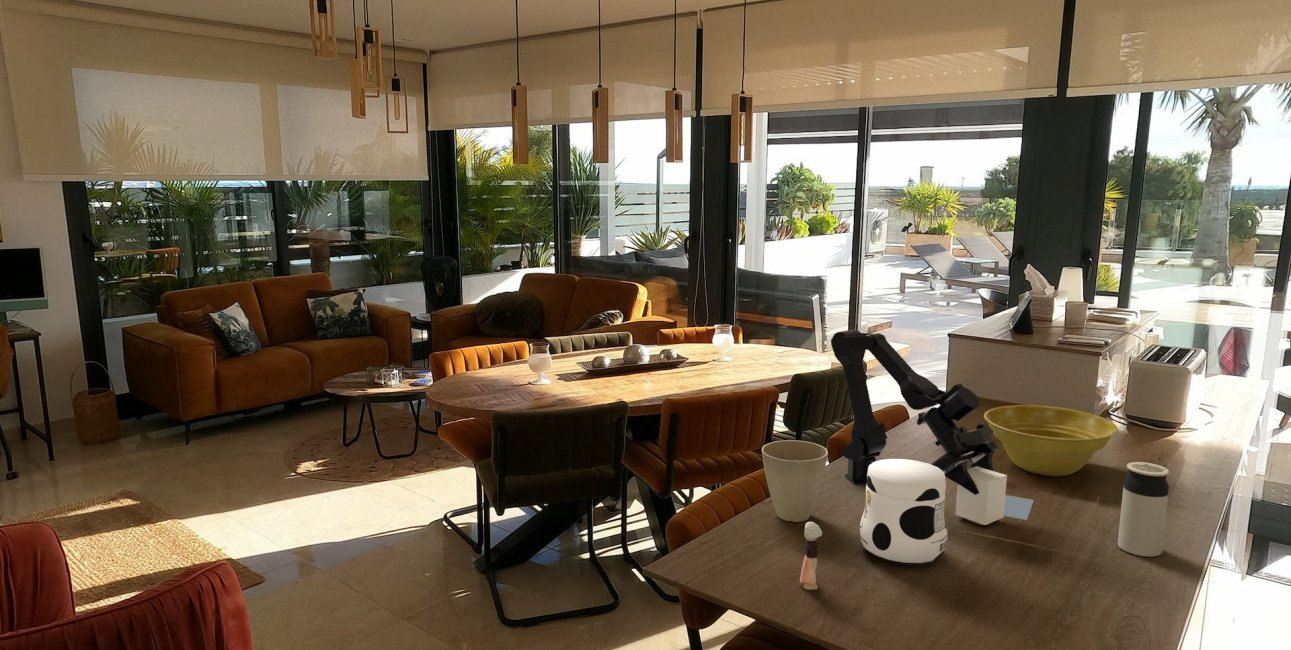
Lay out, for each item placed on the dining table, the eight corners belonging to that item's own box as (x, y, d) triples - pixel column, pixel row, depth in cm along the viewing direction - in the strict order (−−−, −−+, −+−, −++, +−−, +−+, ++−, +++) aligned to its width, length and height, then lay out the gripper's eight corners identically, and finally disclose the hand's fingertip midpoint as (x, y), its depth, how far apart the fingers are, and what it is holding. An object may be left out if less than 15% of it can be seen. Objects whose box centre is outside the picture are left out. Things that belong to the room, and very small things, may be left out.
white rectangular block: (955, 514, 187) (958, 472, 185) (973, 506, 191) (976, 466, 189) (985, 525, 181) (988, 482, 179) (1003, 517, 185) (1006, 475, 183)
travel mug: (1161, 561, 166) (1171, 477, 163) (1116, 552, 170) (1125, 469, 167) (1161, 546, 173) (1170, 465, 170) (1118, 538, 177) (1126, 459, 174)
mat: (962, 509, 193) (962, 507, 193) (972, 490, 205) (972, 489, 205) (1026, 521, 186) (1026, 520, 186) (1033, 501, 198) (1034, 500, 198)
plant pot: (785, 498, 200) (787, 436, 197) (838, 515, 189) (840, 449, 187) (747, 515, 189) (748, 449, 187) (800, 535, 179) (802, 465, 176)
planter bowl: (980, 479, 213) (984, 429, 210) (980, 443, 242) (983, 399, 240) (1121, 496, 201) (1127, 444, 199) (1103, 456, 230) (1108, 410, 228)
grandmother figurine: (794, 576, 160) (796, 515, 158) (813, 575, 160) (815, 514, 158) (805, 595, 152) (807, 531, 150) (825, 595, 153) (828, 531, 151)
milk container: (850, 535, 179) (854, 456, 176) (930, 536, 178) (935, 457, 175) (869, 572, 162) (874, 485, 159) (958, 573, 161) (964, 486, 158)
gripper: (946, 419, 179) (989, 482, 173) (993, 406, 190) (1035, 464, 184) (913, 445, 187) (953, 505, 180) (960, 430, 198) (999, 487, 191)
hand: (986, 490), depth 184 cm, fingers closed on white rectangular block, 7 cm apart
